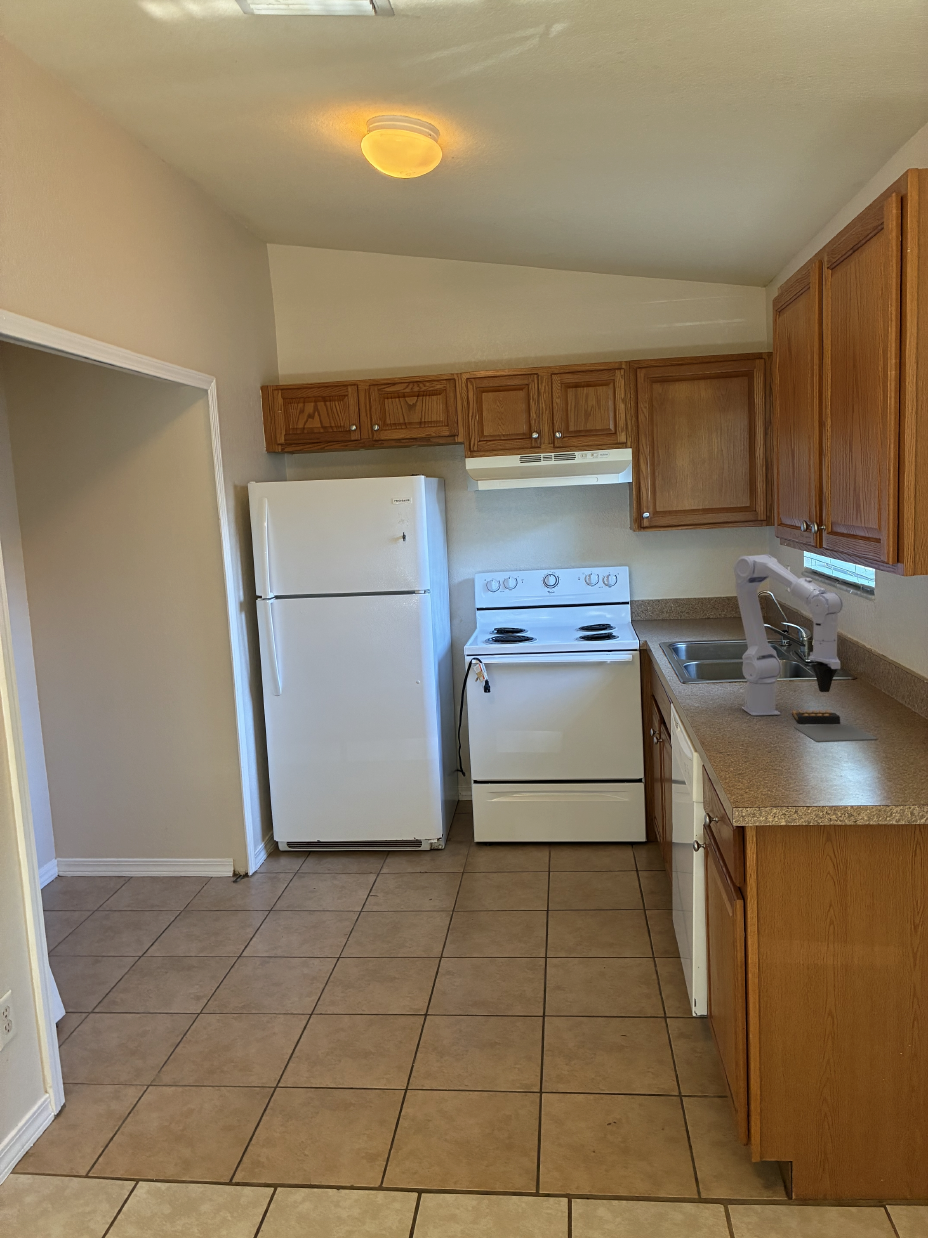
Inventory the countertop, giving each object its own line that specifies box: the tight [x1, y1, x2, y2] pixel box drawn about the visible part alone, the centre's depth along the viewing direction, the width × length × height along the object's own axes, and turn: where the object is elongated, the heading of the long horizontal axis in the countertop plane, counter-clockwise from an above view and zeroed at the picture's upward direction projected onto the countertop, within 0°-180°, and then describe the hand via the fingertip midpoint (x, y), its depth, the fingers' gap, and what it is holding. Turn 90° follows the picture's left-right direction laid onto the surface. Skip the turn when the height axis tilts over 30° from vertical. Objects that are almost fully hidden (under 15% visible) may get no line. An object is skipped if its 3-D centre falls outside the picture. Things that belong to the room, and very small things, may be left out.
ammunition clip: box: [791, 709, 841, 724], centre depth 251 cm, size 11×2×12 cm
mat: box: [793, 723, 878, 743], centre depth 235 cm, size 15×15×1 cm
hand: (824, 691), depth 241 cm, fingers closed
